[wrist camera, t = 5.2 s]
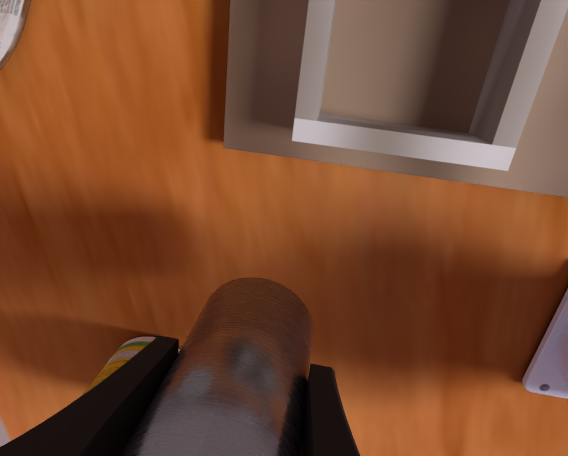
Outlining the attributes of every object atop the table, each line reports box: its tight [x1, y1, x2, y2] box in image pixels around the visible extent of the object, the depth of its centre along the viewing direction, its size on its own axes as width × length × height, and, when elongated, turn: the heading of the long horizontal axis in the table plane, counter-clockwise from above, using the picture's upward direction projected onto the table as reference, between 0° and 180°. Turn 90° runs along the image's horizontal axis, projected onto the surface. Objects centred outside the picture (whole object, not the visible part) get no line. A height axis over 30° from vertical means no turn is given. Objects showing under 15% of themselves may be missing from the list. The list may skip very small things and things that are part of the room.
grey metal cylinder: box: [121, 278, 313, 456], centre depth 10 cm, size 4×4×8 cm
